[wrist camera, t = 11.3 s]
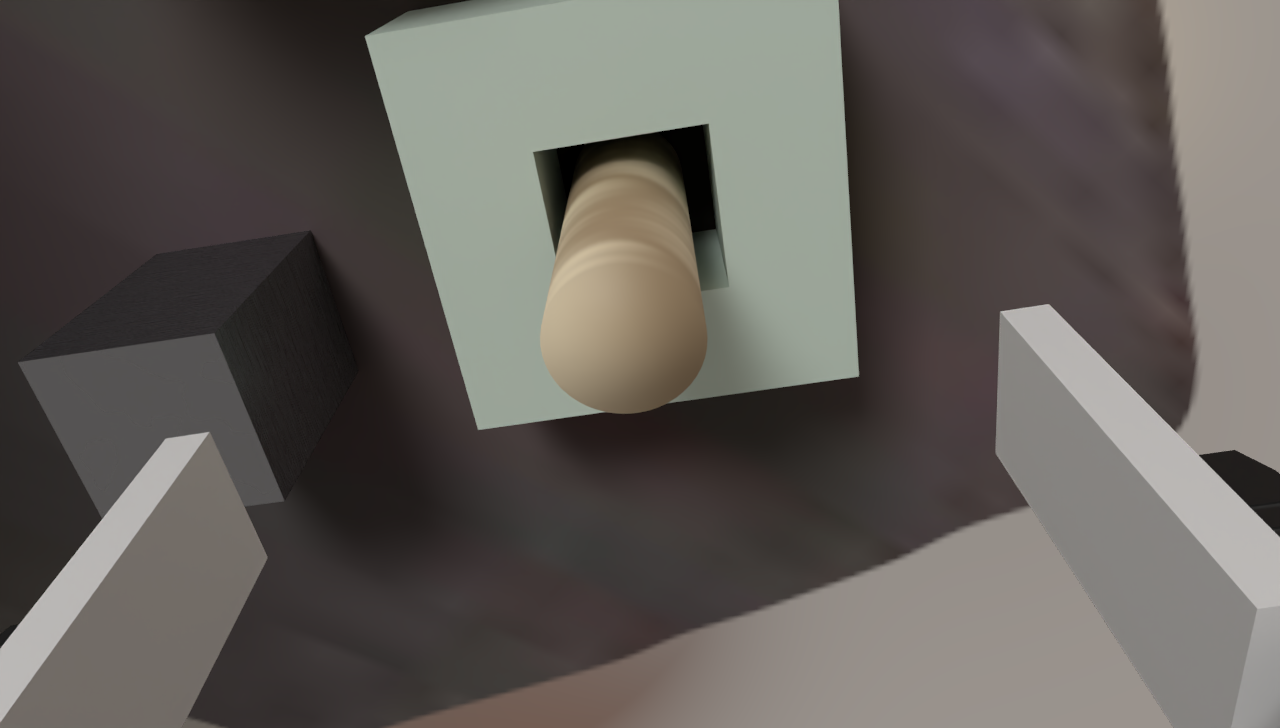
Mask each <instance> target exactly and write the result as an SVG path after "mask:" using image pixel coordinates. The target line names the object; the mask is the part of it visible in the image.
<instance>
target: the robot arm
mask: <svg viewBox="0 0 1280 728" xmlns="http://www.w3.org/2000/svg"><path fill="white" fill-rule="evenodd" d="M996 455H997V456H998V458H999V459H1000V461H1001V462H1002V464H1003V465H1004V467H1005V469H1006V470H1007V472H1008V473H1009V475H1010V476H1011V478H1012V479H1013V481H1014V482H1015V484H1016V485H1017V487H1018V489H1019V490H1020V492H1021V493H1022V495H1023V496H1024V498H1025V499H1026V501H1027V502H1028V504H1029V506H1030V507H1031V508H1032V510H1033V512H1034V513H1035V515H1036V516H1037V518H1038V519H1039V521H1040V522H1041V524H1042V526H1043V527H1044V528H1045V530H1046V532H1047V533H1048V535H1049V536H1050V538H1051V539H1052V541H1053V543H1054V544H1055V546H1056V547H1057V549H1058V550H1059V552H1060V553H1061V555H1062V556H1063V558H1064V559H1065V561H1066V563H1067V564H1068V566H1069V567H1070V569H1071V570H1072V572H1073V573H1074V575H1075V576H1076V578H1077V580H1078V581H1079V583H1080V584H1081V586H1082V587H1083V589H1084V590H1085V592H1086V593H1087V595H1088V597H1089V598H1090V599H1091V601H1092V603H1093V604H1094V606H1095V607H1096V609H1097V610H1098V612H1099V613H1100V615H1101V617H1102V618H1103V620H1104V621H1105V623H1106V624H1107V626H1108V627H1109V629H1110V630H1111V632H1112V634H1113V635H1114V637H1115V638H1116V640H1117V641H1118V643H1119V644H1120V646H1121V647H1122V649H1123V651H1124V652H1125V654H1126V655H1127V657H1128V658H1129V660H1130V661H1131V662H1132V664H1133V666H1134V667H1135V669H1136V671H1137V672H1138V674H1139V675H1140V677H1141V678H1142V680H1143V681H1144V683H1145V685H1146V686H1147V688H1148V689H1149V691H1150V692H1151V694H1152V695H1153V697H1154V698H1155V700H1156V701H1157V703H1158V705H1159V706H1160V707H1161V709H1162V711H1163V712H1164V714H1165V715H1166V717H1167V718H1168V720H1169V722H1170V723H1171V725H1172V726H1173V728H1280V474H1279V473H1278V472H1277V471H1275V470H1273V469H1272V468H1270V467H1267V466H1266V465H1263V464H1261V463H1259V462H1258V461H1256V460H1254V459H1251V458H1250V457H1247V456H1245V455H1244V454H1242V453H1240V452H1238V451H1235V450H1232V451H1225V452H1218V453H1210V454H1203V455H1198V454H1196V452H1195V451H1194V450H1193V449H1192V448H1191V447H1190V446H1189V445H1188V444H1187V443H1186V442H1185V441H1184V440H1183V439H1182V438H1181V437H1180V436H1179V435H1178V434H1177V433H1176V432H1175V431H1174V430H1173V429H1172V428H1171V427H1170V426H1169V425H1168V424H1167V423H1166V422H1165V421H1164V420H1163V419H1162V418H1161V417H1160V416H1159V415H1158V414H1157V413H1156V412H1155V411H1154V410H1153V409H1152V408H1151V407H1150V406H1149V405H1148V404H1147V403H1146V402H1145V401H1144V400H1143V399H1142V398H1141V397H1140V396H1139V395H1138V394H1137V393H1136V392H1135V391H1134V390H1133V389H1132V388H1131V387H1130V386H1129V385H1128V384H1127V383H1126V382H1125V381H1124V380H1123V379H1122V378H1121V377H1120V376H1119V375H1118V374H1117V373H1116V372H1115V371H1114V370H1113V369H1112V367H1111V366H1110V365H1109V364H1108V363H1107V362H1106V361H1105V360H1104V359H1103V358H1102V357H1101V356H1100V355H1099V354H1098V353H1097V352H1096V351H1095V350H1094V349H1093V348H1092V347H1091V346H1090V345H1089V344H1088V343H1087V342H1086V341H1085V340H1084V339H1083V338H1082V337H1081V336H1080V335H1079V334H1078V333H1077V332H1076V331H1075V330H1074V329H1073V328H1072V327H1071V326H1070V325H1069V324H1068V323H1067V322H1066V321H1065V320H1064V319H1063V318H1062V317H1061V316H1060V315H1059V314H1058V313H1057V312H1056V311H1055V310H1054V309H1053V308H1052V307H1051V306H1050V305H1049V304H1047V305H1040V306H1034V307H1027V308H1021V309H1014V310H1008V311H1001V312H1000V332H999V363H998V394H997V424H996ZM267 558H268V557H267V555H266V553H265V551H264V548H263V546H262V544H261V542H260V540H259V538H258V535H257V533H256V531H255V529H254V527H253V525H252V522H251V520H250V518H249V516H248V514H247V512H246V509H245V507H244V505H243V503H242V501H241V499H240V496H239V494H238V492H237V490H236V488H235V486H234V483H233V481H232V479H231V477H230V475H229V473H228V470H227V468H226V466H225V464H224V462H223V460H222V457H221V455H220V453H219V451H218V449H217V447H216V445H215V442H214V440H213V438H212V436H211V434H210V432H206V433H199V434H193V435H186V436H179V437H173V438H166V439H165V440H164V442H163V443H162V444H161V445H160V447H159V448H158V449H157V450H156V452H155V453H154V454H153V456H152V457H151V458H150V459H149V461H148V462H147V463H146V464H145V466H144V467H143V468H142V469H141V471H140V472H139V473H138V475H137V476H136V477H135V478H134V480H133V481H132V482H131V483H130V485H129V486H128V487H127V488H126V490H125V491H124V492H123V494H122V495H121V496H120V497H119V499H118V500H117V501H116V502H115V504H114V505H113V506H112V507H111V509H110V510H109V511H108V513H107V514H106V515H105V516H104V518H103V519H102V520H101V521H100V523H99V524H98V525H97V526H96V528H95V529H94V530H93V532H92V533H91V534H90V535H89V537H88V538H87V539H86V540H85V542H84V543H83V544H82V546H81V547H80V548H79V549H78V551H77V552H76V553H75V554H74V556H73V557H72V558H71V559H70V561H69V562H68V563H67V565H66V566H65V567H64V568H63V570H62V571H61V572H60V573H59V575H58V576H57V577H56V578H55V580H54V581H53V582H52V584H51V585H50V586H49V587H48V589H47V590H46V591H45V592H44V594H43V595H42V596H41V597H40V599H39V600H38V601H37V603H36V604H35V605H34V606H33V608H32V609H31V610H30V611H29V613H28V614H27V615H26V616H25V618H24V619H23V620H22V622H21V623H20V624H19V625H13V626H10V627H9V628H8V629H6V630H5V631H4V632H3V633H2V634H0V728H182V726H183V724H184V722H185V720H186V719H187V717H188V715H189V713H190V711H191V709H192V707H193V705H194V703H195V701H196V699H197V697H198V695H199V693H200V691H201V689H202V687H203V685H204V683H205V681H206V679H207V677H208V675H209V673H210V671H211V669H212V667H213V665H214V663H215V661H216V659H217V657H218V655H219V653H220V651H221V649H222V647H223V645H224V643H225V641H226V639H227V637H228V635H229V633H230V631H231V629H232V627H233V625H234V623H235V622H236V620H237V618H238V616H239V614H240V612H241V610H242V608H243V606H244V604H245V602H246V600H247V598H248V596H249V594H250V592H251V590H252V588H253V586H254V584H255V582H256V580H257V578H258V576H259V574H260V572H261V570H262V568H263V566H264V564H265V562H266V560H267Z"/></svg>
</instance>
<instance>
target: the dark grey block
mask: <svg viewBox="0 0 1280 728" xmlns="http://www.w3.org/2000/svg"><path fill="white" fill-rule="evenodd" d="M18 364H19V365H20V367H21V369H22V371H23V373H24V375H25V377H26V378H27V380H28V382H29V384H30V386H31V388H32V390H33V391H34V393H35V395H36V397H37V399H38V401H39V402H40V404H41V406H42V408H43V410H44V412H45V414H46V415H47V417H48V419H49V421H50V423H51V425H52V427H53V428H54V430H55V432H56V434H57V436H58V438H59V440H60V441H61V443H62V445H63V447H64V449H65V451H66V453H67V454H68V456H69V458H70V460H71V462H72V464H73V465H74V467H75V469H76V471H77V473H78V475H79V477H80V478H81V480H82V482H83V484H84V486H85V488H86V490H87V491H88V493H89V495H90V497H91V499H92V501H93V503H94V504H95V506H96V508H97V510H98V512H99V514H100V515H101V517H102V519H103V518H104V516H105V515H106V514H107V513H108V511H109V510H110V509H111V507H112V506H113V505H114V504H115V502H116V501H117V500H118V499H119V497H120V496H121V495H122V494H123V492H124V491H125V490H126V488H127V487H128V486H129V485H130V483H131V482H132V481H133V480H134V478H135V477H136V476H137V475H138V473H139V472H140V471H141V469H142V468H143V467H144V466H145V464H146V463H147V462H148V461H149V459H150V458H151V457H152V456H153V454H154V453H155V452H156V450H157V449H158V448H159V447H160V445H161V444H162V443H163V442H164V440H165V439H166V438H173V437H179V436H186V435H193V434H199V433H206V432H210V434H211V436H212V438H213V440H214V442H215V445H216V447H217V449H218V451H219V453H220V455H221V457H222V460H223V462H224V464H225V466H226V468H227V470H228V473H229V475H230V477H231V479H232V481H233V483H234V486H235V488H236V490H237V492H238V494H239V496H240V499H241V501H242V503H243V505H244V506H252V505H259V504H267V503H274V502H282V501H285V500H286V498H287V496H288V494H289V492H290V491H291V489H292V487H293V485H294V484H295V482H296V480H297V478H298V477H299V475H300V473H301V471H302V470H303V468H304V466H305V464H306V463H307V461H308V459H309V457H310V455H311V454H312V452H313V450H314V448H315V447H316V445H317V443H318V441H319V440H320V438H321V436H322V434H323V433H324V431H325V429H326V427H327V426H328V424H329V422H330V420H331V418H332V417H333V415H334V413H335V411H336V410H337V408H338V406H339V404H340V403H341V401H342V399H343V397H344V396H345V394H346V392H347V390H348V389H349V387H350V385H351V383H352V381H353V380H354V378H355V376H356V374H357V373H358V368H357V365H356V362H355V359H354V356H353V353H352V350H351V347H350V344H349V342H348V339H347V336H346V333H345V330H344V327H343V324H342V321H341V318H340V315H339V313H338V310H337V307H336V304H335V301H334V298H333V295H332V292H331V289H330V286H329V283H328V281H327V278H326V275H325V272H324V269H323V266H322V263H321V260H320V257H319V254H318V251H317V249H316V246H315V243H314V240H313V237H312V234H311V231H304V232H297V233H291V234H284V235H278V236H271V237H265V238H259V239H252V240H246V241H239V242H233V243H226V244H220V245H213V246H207V247H200V248H194V249H187V250H181V251H174V252H168V253H162V254H156V255H155V256H154V257H153V258H151V259H150V260H149V261H147V262H146V263H145V264H144V265H142V266H141V267H140V268H138V269H137V270H136V271H135V272H133V273H132V274H131V275H129V276H128V277H127V278H126V279H124V280H123V281H122V282H120V283H119V284H118V285H117V286H115V287H114V288H113V289H111V290H110V291H109V292H108V293H106V294H105V295H104V296H102V297H101V298H100V299H99V300H97V301H96V302H95V303H93V304H92V305H91V306H90V307H88V308H87V309H86V310H84V311H83V312H82V313H81V314H79V315H78V316H77V317H75V318H74V319H73V320H72V321H70V322H69V323H68V324H66V325H65V326H64V327H63V328H61V329H60V330H59V331H57V332H56V333H55V334H54V335H52V336H51V337H50V338H48V339H47V340H46V341H45V342H43V343H42V344H41V345H39V346H38V347H37V348H36V349H34V350H33V351H32V352H30V353H29V354H28V355H27V356H25V357H24V358H23V359H21V360H20V361H19V362H18Z"/></svg>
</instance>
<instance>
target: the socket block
mask: <svg viewBox="0 0 1280 728" xmlns="http://www.w3.org/2000/svg"><path fill="white" fill-rule="evenodd" d="M365 39H366V42H367V46H368V49H369V53H370V56H371V59H372V63H373V66H374V70H375V73H376V77H377V80H378V84H379V87H380V91H381V94H382V98H383V101H384V105H385V108H386V112H387V115H388V118H389V122H390V125H391V129H392V132H393V136H394V139H395V143H396V146H397V150H398V153H399V157H400V160H401V164H402V167H403V171H404V174H405V178H406V181H407V184H408V188H409V191H410V195H411V198H412V202H413V205H414V209H415V212H416V216H417V219H418V223H419V226H420V230H421V233H422V237H423V240H424V243H425V247H426V250H427V254H428V257H429V261H430V264H431V268H432V271H433V275H434V278H435V282H436V285H437V289H438V292H439V296H440V299H441V302H442V306H443V309H444V313H445V316H446V320H447V323H448V327H449V330H450V334H451V337H452V341H453V344H454V348H455V351H456V355H457V358H458V361H459V365H460V368H461V372H462V375H463V379H464V382H465V386H466V389H467V393H468V396H469V400H470V403H471V407H472V410H473V414H474V417H475V420H476V424H477V427H478V430H481V429H488V428H495V427H502V426H509V425H516V424H524V423H531V422H538V421H545V420H552V419H559V418H566V417H574V416H581V415H588V414H595V413H602V412H604V411H600V410H596V409H594V408H591V407H588V406H586V405H584V404H582V403H580V402H578V401H577V400H575V399H574V398H572V397H571V396H569V395H568V394H567V393H566V392H565V391H563V390H562V389H561V388H560V386H559V385H558V384H557V383H556V382H555V381H554V379H553V378H552V376H551V375H550V373H549V371H548V369H547V367H546V365H545V362H544V360H543V357H542V352H541V347H540V332H541V324H542V320H543V315H544V310H545V305H546V301H547V296H548V291H549V287H550V282H551V277H552V272H553V268H554V263H555V258H556V253H557V249H558V244H559V239H560V235H561V230H562V225H563V220H564V216H565V211H566V206H567V198H566V193H565V188H564V183H563V178H562V173H561V169H560V164H559V159H558V154H557V149H556V148H560V147H567V146H573V145H579V144H585V143H591V142H597V141H604V140H610V139H616V138H622V137H628V136H635V135H641V134H647V133H653V132H659V131H665V130H672V129H678V128H684V127H690V126H696V125H702V124H703V132H704V140H705V147H706V155H707V163H708V171H709V179H710V186H711V194H712V202H713V210H714V218H715V226H716V229H713V230H706V231H700V232H693V233H692V237H693V243H694V250H695V256H696V263H697V269H698V276H699V282H700V289H701V295H702V302H703V308H704V314H705V321H706V327H707V338H708V340H707V351H706V356H705V359H704V362H703V365H702V367H701V369H700V371H699V373H698V375H697V376H696V378H695V379H694V381H693V382H692V383H691V385H690V386H689V387H688V388H687V389H686V390H685V391H684V392H683V393H681V394H680V395H679V396H678V397H676V398H675V399H673V400H672V401H670V402H669V403H673V402H680V401H688V400H695V399H702V398H709V397H716V396H723V395H730V394H738V393H745V392H752V391H759V390H766V389H773V388H780V387H787V386H795V385H802V384H809V383H816V382H823V381H830V380H837V379H845V378H852V377H859V368H858V350H857V331H856V313H855V295H854V277H853V259H852V240H851V222H850V204H849V186H848V167H847V149H846V131H845V113H844V94H843V76H842V58H841V40H840V22H839V3H838V0H470V1H464V2H458V3H453V4H447V5H441V6H435V7H430V8H424V9H418V10H413V11H408V12H406V13H404V14H403V15H401V16H399V17H397V18H396V19H394V20H392V21H390V22H389V23H387V24H385V25H384V26H382V27H380V28H378V29H377V30H375V31H373V32H371V33H370V34H368V35H366V36H365Z"/></svg>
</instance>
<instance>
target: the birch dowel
mask: <svg viewBox="0 0 1280 728" xmlns="http://www.w3.org/2000/svg"><path fill="white" fill-rule="evenodd" d="M707 340H708V338H707V327H706V321H705V314H704V308H703V302H702V295H701V289H700V282H699V276H698V269H697V263H696V256H695V250H694V243H693V237H692V231H691V224H690V218H689V211H688V205H687V198H686V192H685V185H684V179H683V172H682V167H681V163H680V160H679V157H678V155H677V153H676V151H675V149H674V148H673V147H672V145H671V144H670V143H669V142H668V141H667V140H666V139H665V138H664V137H663V136H662V135H661V134H659V133H657V132H653V133H647V134H641V135H635V136H628V137H622V138H616V139H610V140H604V141H597V142H591V143H586V144H585V145H584V147H583V148H582V150H581V152H580V153H579V156H578V158H577V161H576V164H575V168H574V173H573V178H572V183H571V187H570V192H569V197H568V202H567V206H566V211H565V216H564V220H563V225H562V230H561V235H560V239H559V244H558V249H557V253H556V258H555V263H554V268H553V272H552V277H551V282H550V287H549V291H548V296H547V301H546V305H545V310H544V315H543V320H542V324H541V332H540V347H541V352H542V357H543V360H544V362H545V365H546V367H547V369H548V371H549V373H550V375H551V376H552V378H553V379H554V381H555V382H556V383H557V384H558V385H559V386H560V388H561V389H562V390H563V391H565V392H566V393H567V394H568V395H569V396H571V397H572V398H574V399H575V400H577V401H578V402H580V403H582V404H584V405H586V406H588V407H591V408H594V409H596V410H600V411H604V412H609V413H617V414H631V413H640V412H645V411H649V410H652V409H655V408H658V407H660V406H662V405H665V404H667V403H669V402H670V401H672V400H673V399H675V398H676V397H678V396H679V395H680V394H681V393H683V392H684V391H685V390H686V389H687V388H688V387H689V386H690V385H691V383H692V382H693V381H694V379H695V378H696V376H697V375H698V373H699V371H700V369H701V367H702V365H703V362H704V359H705V356H706V351H707Z"/></svg>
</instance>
